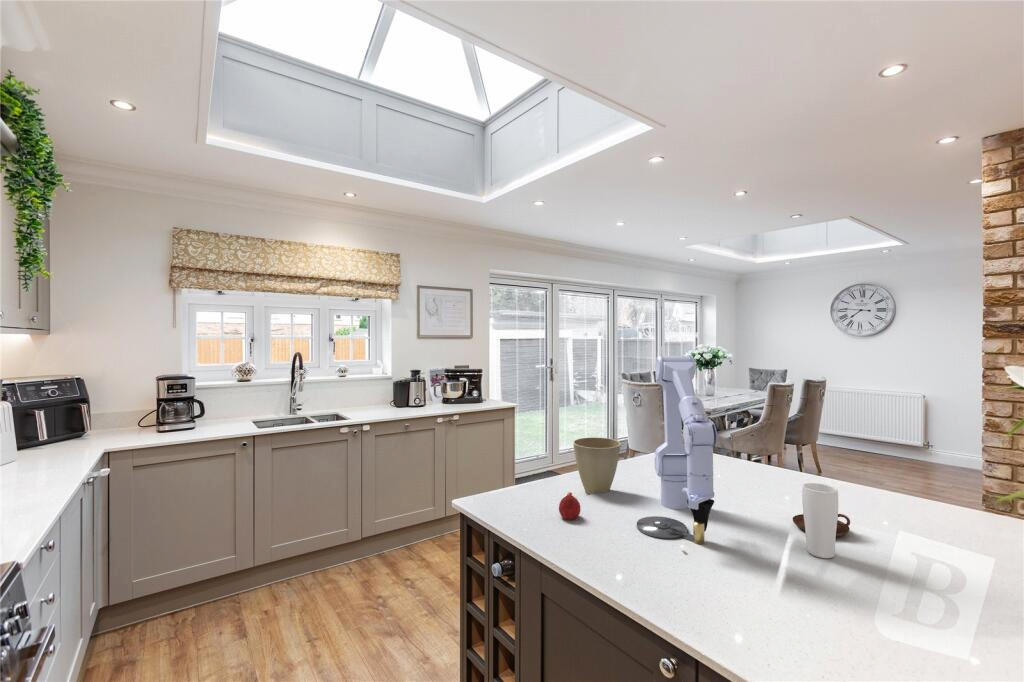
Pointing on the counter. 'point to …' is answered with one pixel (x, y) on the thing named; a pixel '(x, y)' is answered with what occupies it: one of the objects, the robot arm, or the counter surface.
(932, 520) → the counter surface
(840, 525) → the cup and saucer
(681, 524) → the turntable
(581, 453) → the plant pot
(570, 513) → the onion
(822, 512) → the drinking glass
